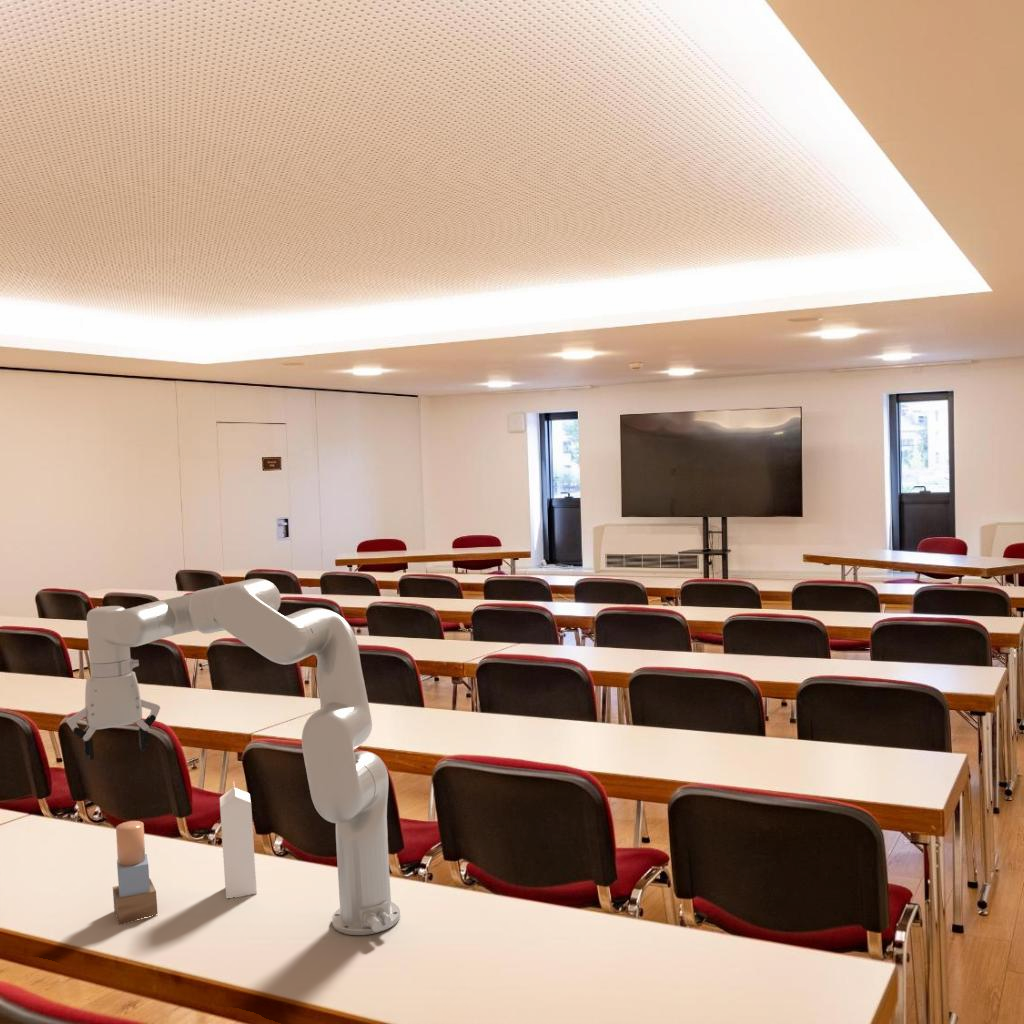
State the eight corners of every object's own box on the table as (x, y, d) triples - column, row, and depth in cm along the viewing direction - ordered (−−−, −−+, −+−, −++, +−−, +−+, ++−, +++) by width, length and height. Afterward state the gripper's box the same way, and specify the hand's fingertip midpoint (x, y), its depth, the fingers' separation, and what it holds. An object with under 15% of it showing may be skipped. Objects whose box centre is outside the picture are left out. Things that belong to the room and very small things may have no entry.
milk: (255, 882, 206) (249, 777, 205) (256, 894, 200) (250, 786, 199) (224, 887, 204) (218, 781, 203) (225, 899, 199) (219, 791, 197)
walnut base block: (157, 916, 193) (156, 890, 193) (119, 925, 190) (117, 900, 189) (151, 902, 199) (150, 878, 199) (114, 911, 196) (112, 887, 196)
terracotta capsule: (147, 862, 193) (145, 827, 192) (120, 868, 190) (118, 833, 190) (142, 853, 197) (140, 818, 197) (115, 859, 195) (114, 824, 194)
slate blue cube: (150, 891, 193) (148, 863, 192) (119, 897, 190) (117, 869, 190) (148, 881, 198) (146, 853, 197) (118, 886, 195) (116, 859, 195)
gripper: (153, 659, 205) (159, 741, 206) (61, 672, 196) (68, 757, 197) (160, 665, 198) (165, 750, 199) (65, 679, 190) (72, 767, 191)
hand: (117, 754), depth 198 cm, fingers open, 9 cm apart
